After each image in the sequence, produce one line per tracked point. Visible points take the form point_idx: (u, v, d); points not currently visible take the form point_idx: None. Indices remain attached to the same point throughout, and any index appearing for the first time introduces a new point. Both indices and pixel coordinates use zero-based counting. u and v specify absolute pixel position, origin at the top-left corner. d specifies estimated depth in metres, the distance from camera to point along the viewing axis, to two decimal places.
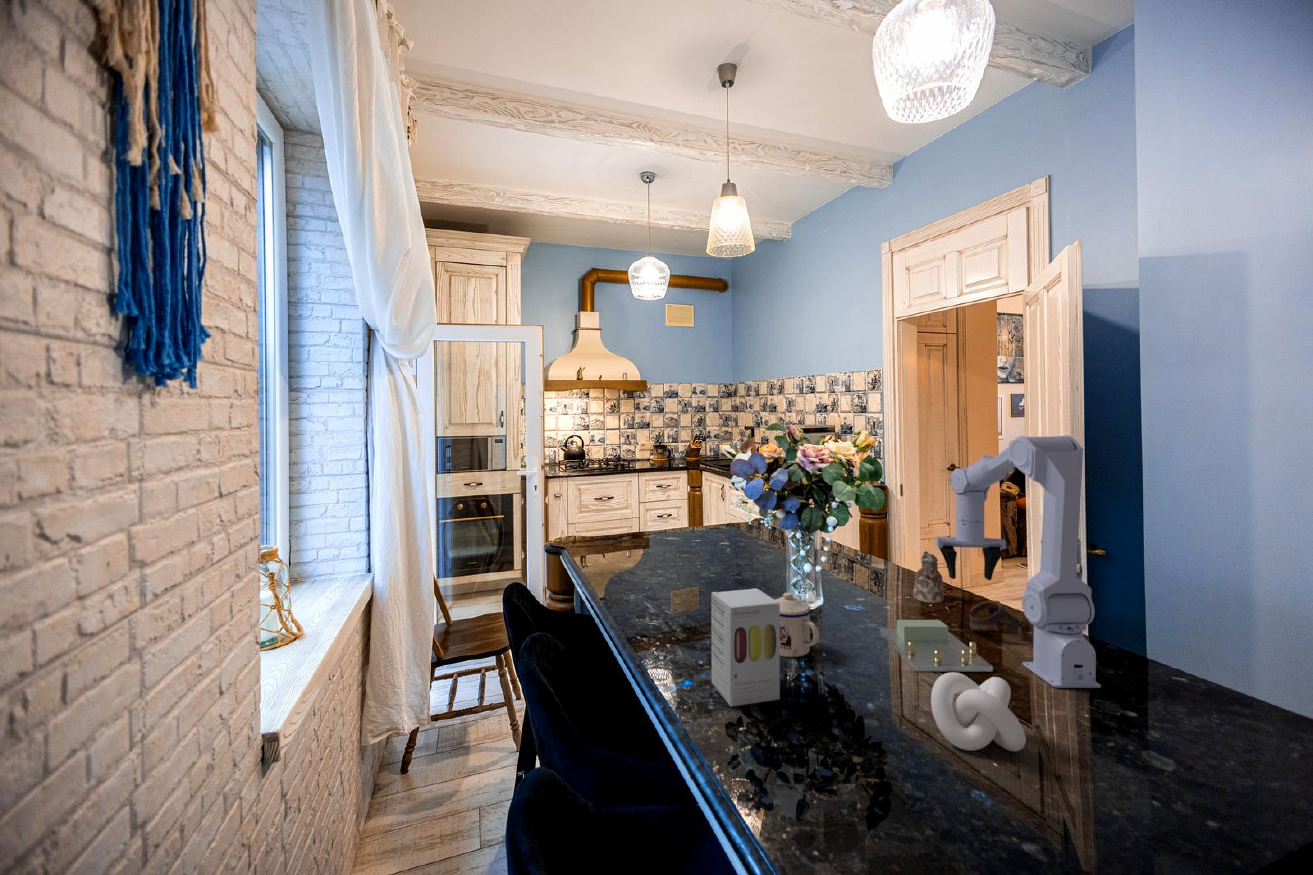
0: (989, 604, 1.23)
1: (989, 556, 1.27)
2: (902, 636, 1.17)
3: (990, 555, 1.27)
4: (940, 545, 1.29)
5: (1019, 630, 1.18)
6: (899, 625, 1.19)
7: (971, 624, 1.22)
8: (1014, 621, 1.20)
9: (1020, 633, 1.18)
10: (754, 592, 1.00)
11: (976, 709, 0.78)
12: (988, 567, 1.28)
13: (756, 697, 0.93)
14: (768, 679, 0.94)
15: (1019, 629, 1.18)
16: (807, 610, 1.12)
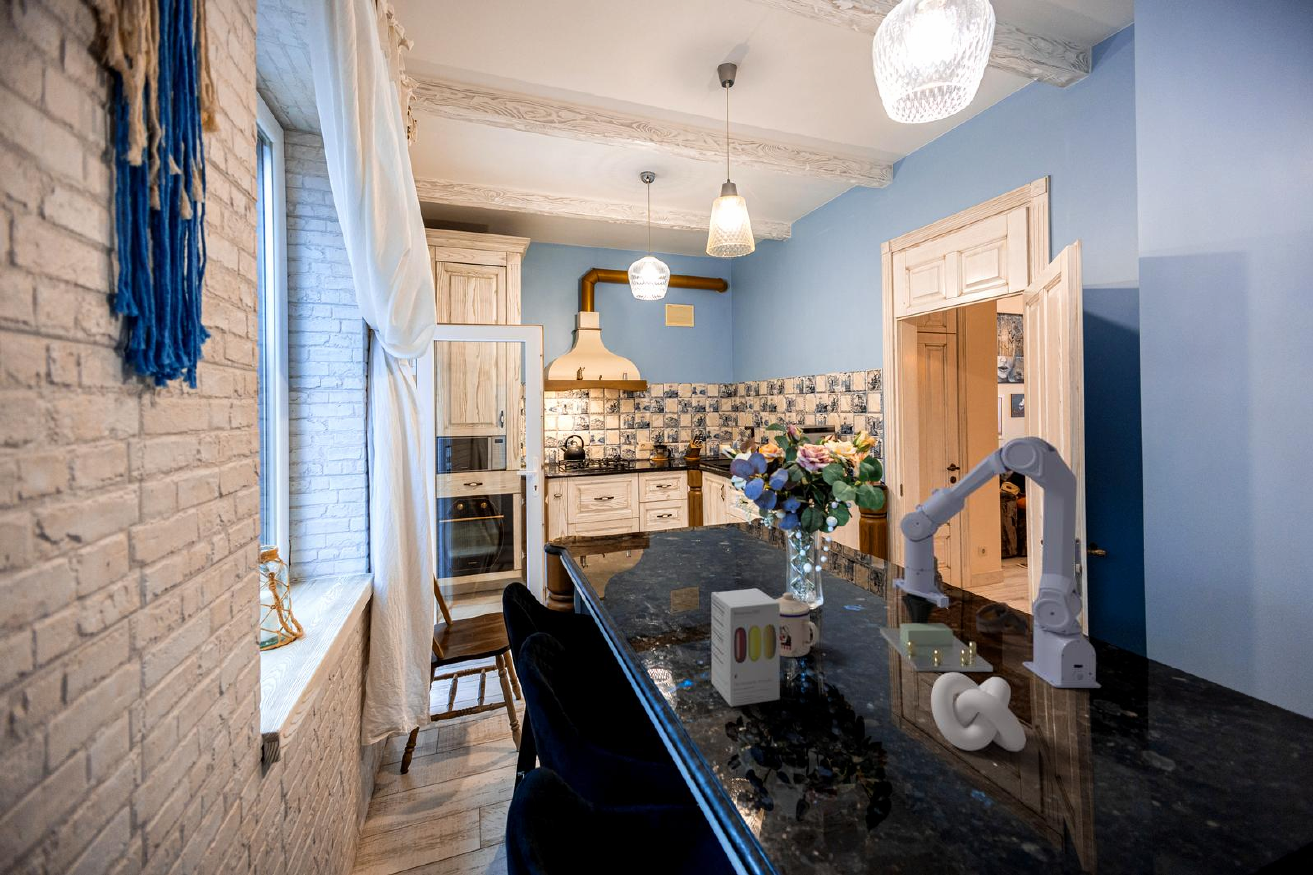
0: (996, 606, 1.22)
1: None
2: (906, 640, 1.15)
3: None
4: (894, 585, 1.25)
5: (1027, 632, 1.17)
6: (902, 629, 1.17)
7: (978, 626, 1.21)
8: (1021, 623, 1.19)
9: (1028, 635, 1.17)
10: (754, 592, 1.00)
11: (976, 709, 0.78)
12: None
13: (756, 697, 0.93)
14: (768, 679, 0.94)
15: (1026, 631, 1.17)
16: (807, 610, 1.12)
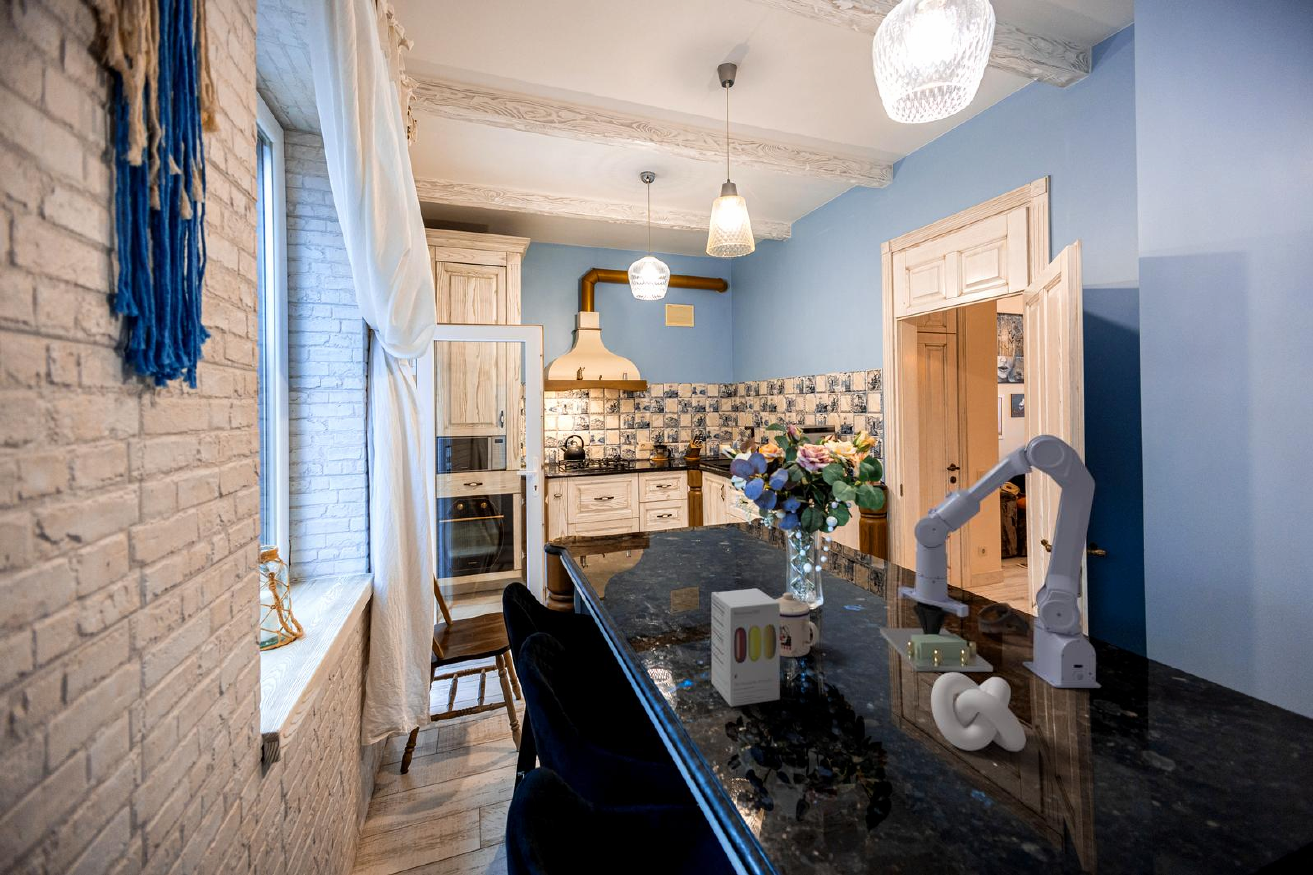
0: (998, 606, 1.21)
1: None
2: (918, 653, 1.09)
3: None
4: (900, 595, 1.19)
5: (1029, 632, 1.17)
6: (914, 641, 1.10)
7: (980, 626, 1.20)
8: (1023, 623, 1.19)
9: (1030, 635, 1.16)
10: (754, 592, 1.00)
11: (976, 709, 0.78)
12: None
13: (756, 697, 0.93)
14: (768, 679, 0.94)
15: (1028, 631, 1.17)
16: (807, 610, 1.12)
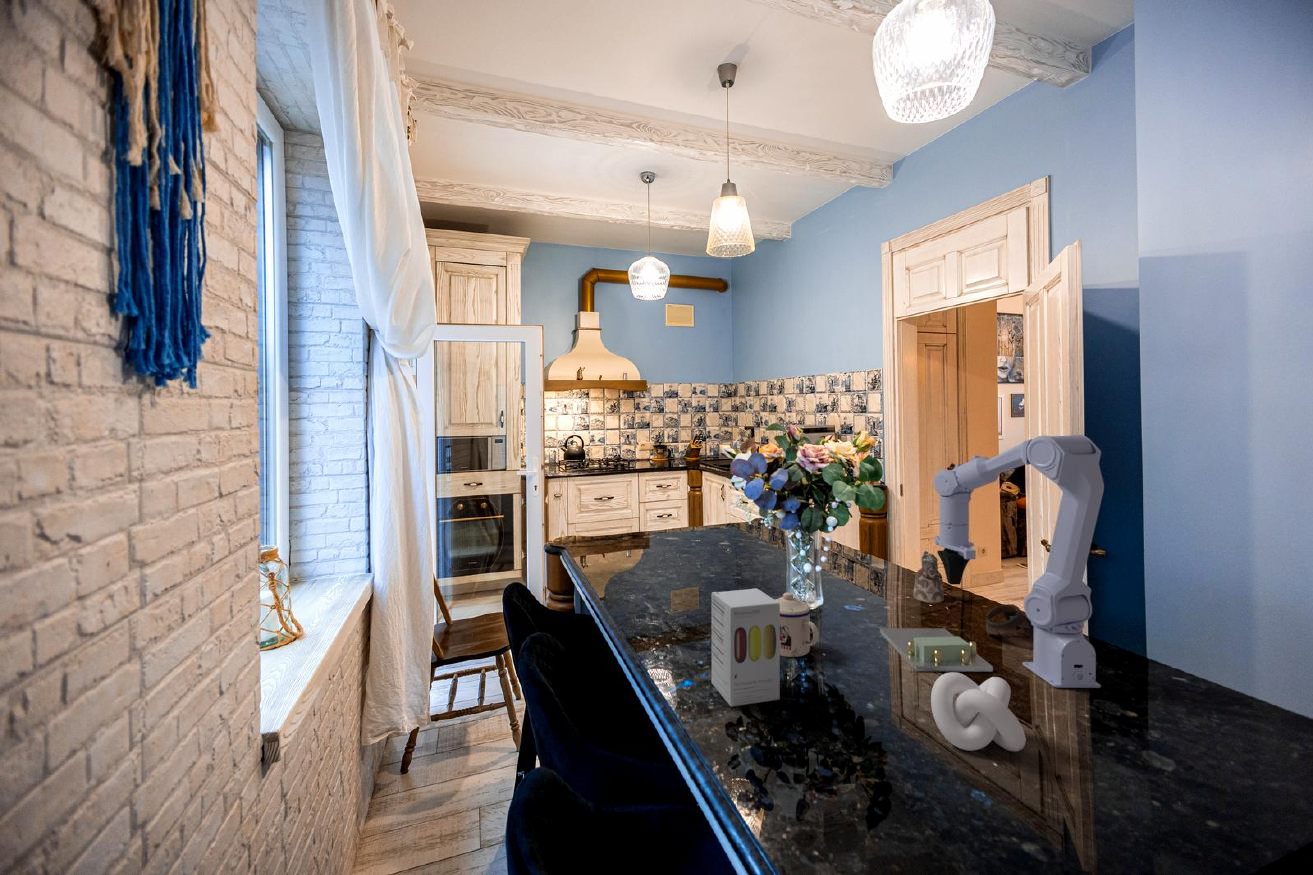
0: (1006, 608, 1.20)
1: None
2: (921, 656, 1.07)
3: None
4: (935, 542, 1.31)
5: None
6: (916, 643, 1.09)
7: (988, 628, 1.19)
8: (1031, 625, 1.18)
9: None
10: (754, 592, 1.00)
11: (976, 709, 0.78)
12: None
13: (756, 697, 0.93)
14: (768, 679, 0.94)
15: None
16: (807, 610, 1.12)
